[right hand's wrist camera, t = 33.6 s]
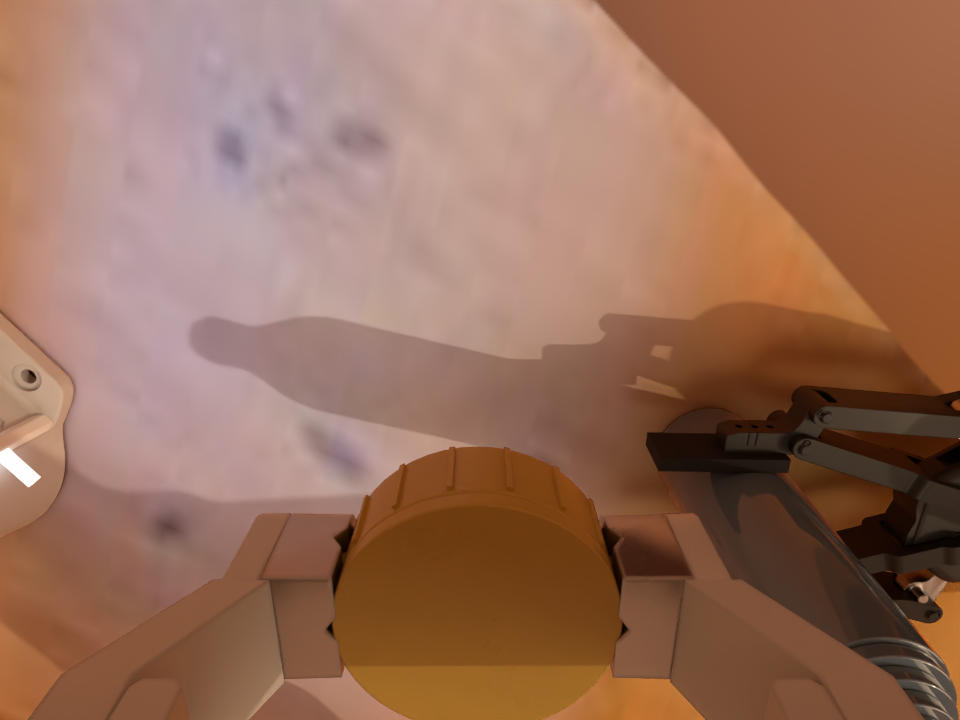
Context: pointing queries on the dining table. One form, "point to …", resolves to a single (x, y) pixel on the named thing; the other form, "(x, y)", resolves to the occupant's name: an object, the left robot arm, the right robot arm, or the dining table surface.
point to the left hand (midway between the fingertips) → (646, 506)
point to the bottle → (807, 568)
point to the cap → (477, 590)
